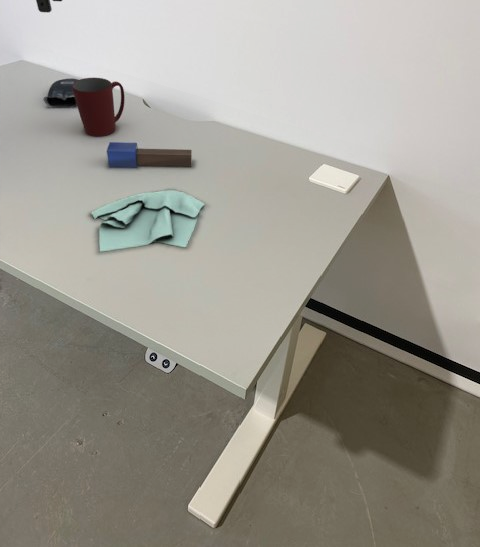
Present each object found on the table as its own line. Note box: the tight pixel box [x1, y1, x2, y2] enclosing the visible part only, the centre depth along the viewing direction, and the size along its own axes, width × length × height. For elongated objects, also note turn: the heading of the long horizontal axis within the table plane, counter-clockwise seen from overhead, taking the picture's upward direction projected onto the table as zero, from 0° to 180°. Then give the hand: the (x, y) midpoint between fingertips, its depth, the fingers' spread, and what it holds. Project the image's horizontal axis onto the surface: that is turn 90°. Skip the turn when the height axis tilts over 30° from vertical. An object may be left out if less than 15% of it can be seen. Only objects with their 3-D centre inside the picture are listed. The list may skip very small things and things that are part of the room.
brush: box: [106, 141, 193, 169], centre depth 93 cm, size 4×18×4 cm, turn 93°
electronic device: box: [43, 77, 79, 108], centre depth 117 cm, size 9×6×15 cm
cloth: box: [91, 189, 206, 253], centre depth 79 cm, size 20×22×2 cm
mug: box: [72, 77, 125, 137], centre depth 102 cm, size 12×9×11 cm
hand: (51, 6), depth 80 cm, fingers open, 8 cm apart
